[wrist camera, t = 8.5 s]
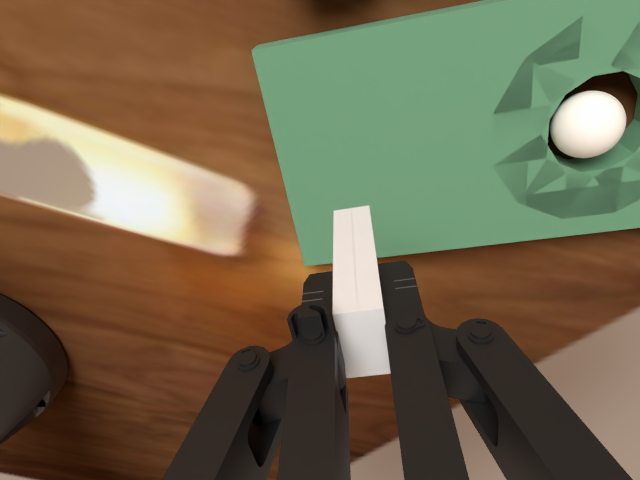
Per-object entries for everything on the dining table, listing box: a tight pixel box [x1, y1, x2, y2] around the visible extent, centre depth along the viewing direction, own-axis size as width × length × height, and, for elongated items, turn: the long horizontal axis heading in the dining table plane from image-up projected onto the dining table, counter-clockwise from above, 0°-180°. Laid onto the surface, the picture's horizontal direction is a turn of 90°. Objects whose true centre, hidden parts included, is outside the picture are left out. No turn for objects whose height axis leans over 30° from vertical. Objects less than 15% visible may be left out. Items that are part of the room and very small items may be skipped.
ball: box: [550, 91, 626, 158], centre depth 24 cm, size 4×4×4 cm
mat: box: [251, 0, 640, 266], centre depth 25 cm, size 25×14×4 cm, turn 101°
